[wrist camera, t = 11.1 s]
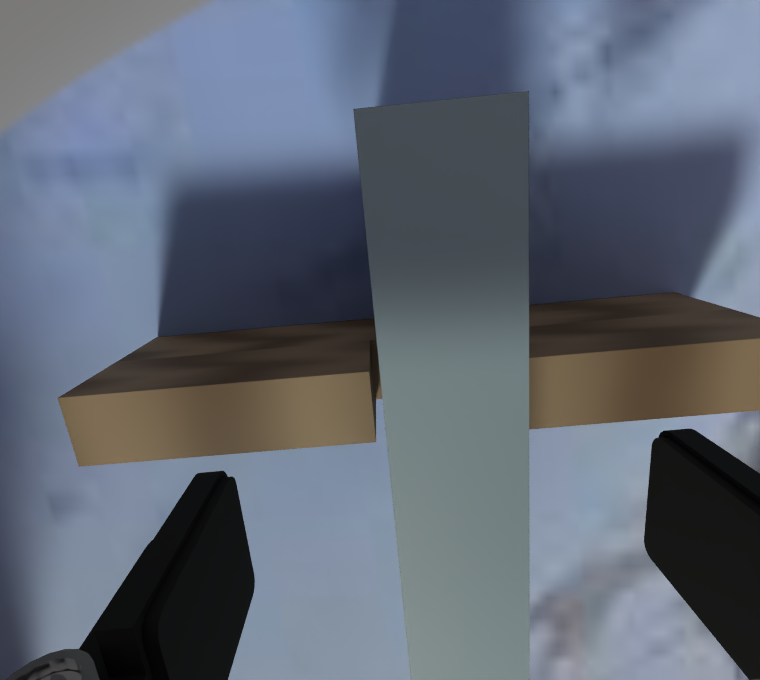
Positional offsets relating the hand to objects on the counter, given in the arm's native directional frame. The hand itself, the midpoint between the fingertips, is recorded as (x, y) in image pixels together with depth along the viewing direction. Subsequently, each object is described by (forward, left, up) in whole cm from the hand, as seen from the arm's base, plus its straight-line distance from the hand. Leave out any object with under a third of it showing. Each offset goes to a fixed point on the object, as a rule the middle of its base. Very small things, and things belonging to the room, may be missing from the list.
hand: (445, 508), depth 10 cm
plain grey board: (0, 0, -12) cm, 12 cm away
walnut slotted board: (0, 0, -12) cm, 12 cm away
